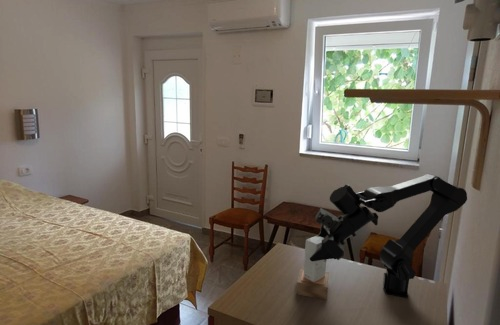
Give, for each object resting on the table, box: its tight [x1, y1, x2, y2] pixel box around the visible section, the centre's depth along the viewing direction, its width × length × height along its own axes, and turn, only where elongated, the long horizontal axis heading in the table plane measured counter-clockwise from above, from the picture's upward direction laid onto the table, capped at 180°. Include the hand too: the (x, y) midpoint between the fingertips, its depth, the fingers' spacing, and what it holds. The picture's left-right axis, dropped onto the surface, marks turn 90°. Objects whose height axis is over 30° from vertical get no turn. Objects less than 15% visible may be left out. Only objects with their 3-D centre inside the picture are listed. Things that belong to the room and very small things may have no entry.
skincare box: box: [303, 235, 327, 282], centre depth 101 cm, size 6×4×12 cm
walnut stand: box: [295, 267, 330, 301], centre depth 103 cm, size 9×9×4 cm
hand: (310, 253), depth 101 cm, fingers open, 9 cm apart
